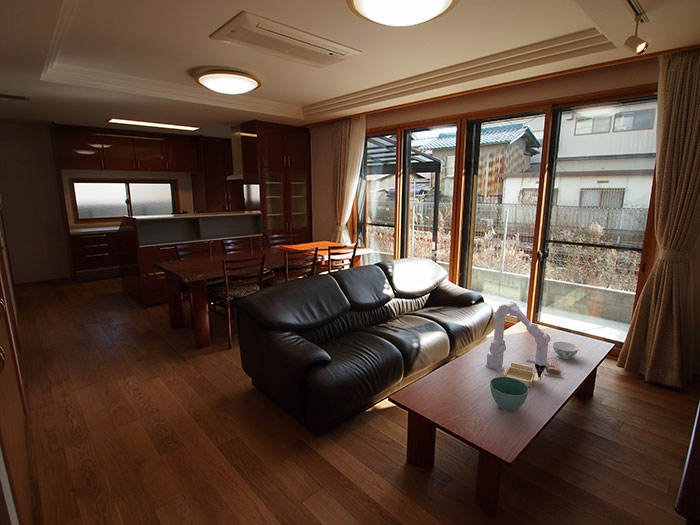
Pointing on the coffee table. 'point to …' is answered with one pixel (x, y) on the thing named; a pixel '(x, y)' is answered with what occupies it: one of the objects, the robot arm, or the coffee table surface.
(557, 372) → the packaged product
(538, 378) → the far flap
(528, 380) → the carton
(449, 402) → the coffee table surface
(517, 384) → the teal green bowl
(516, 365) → the left flap
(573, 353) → the chinaware
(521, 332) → the coffee table surface
